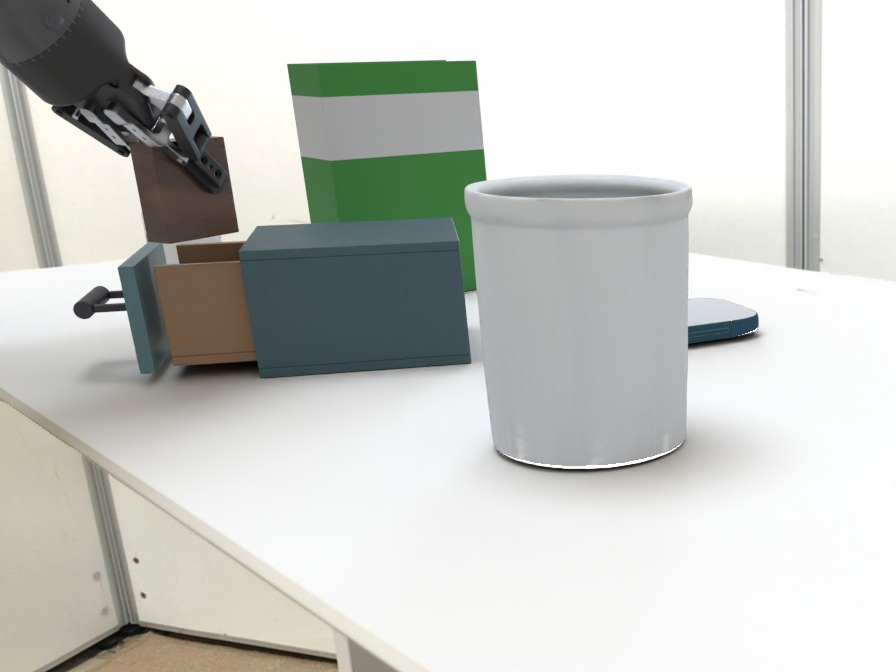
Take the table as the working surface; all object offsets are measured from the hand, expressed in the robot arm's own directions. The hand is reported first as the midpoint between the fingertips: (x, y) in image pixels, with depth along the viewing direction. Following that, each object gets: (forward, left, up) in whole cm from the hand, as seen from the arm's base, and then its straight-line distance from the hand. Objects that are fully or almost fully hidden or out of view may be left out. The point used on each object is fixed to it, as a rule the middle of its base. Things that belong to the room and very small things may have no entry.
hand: (206, 183), depth 97 cm
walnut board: (-1, -2, -4) cm, 4 cm away
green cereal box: (+15, +32, -16) cm, 38 cm away
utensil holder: (+27, -27, -16) cm, 41 cm away
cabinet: (+11, +5, -16) cm, 19 cm away
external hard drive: (+35, +2, -16) cm, 38 cm away
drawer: (-2, +5, -15) cm, 16 cm away
